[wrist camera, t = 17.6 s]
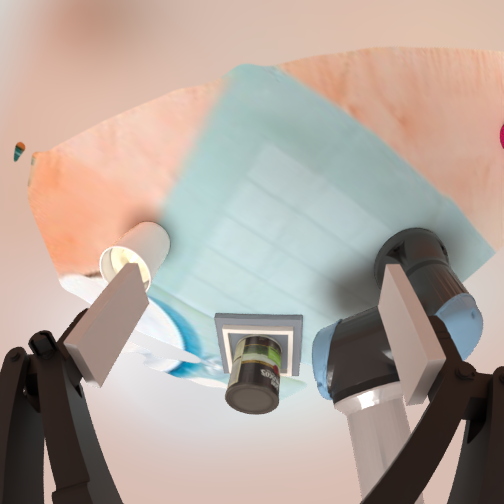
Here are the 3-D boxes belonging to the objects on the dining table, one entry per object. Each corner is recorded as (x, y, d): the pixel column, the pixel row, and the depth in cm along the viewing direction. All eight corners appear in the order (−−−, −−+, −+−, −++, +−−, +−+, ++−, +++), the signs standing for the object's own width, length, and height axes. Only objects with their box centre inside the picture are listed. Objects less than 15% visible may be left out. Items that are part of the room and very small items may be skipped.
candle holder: (164, 212, 55) (137, 241, 45) (181, 259, 59) (159, 295, 49) (122, 222, 57) (90, 251, 46) (139, 265, 61) (113, 299, 51)
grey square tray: (302, 315, 62) (302, 324, 60) (298, 371, 71) (298, 380, 68) (215, 313, 65) (212, 322, 62) (225, 368, 73) (223, 377, 70)
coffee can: (266, 326, 63) (260, 379, 51) (290, 356, 66) (288, 407, 54) (226, 342, 66) (214, 392, 54) (251, 369, 70) (244, 418, 58)
